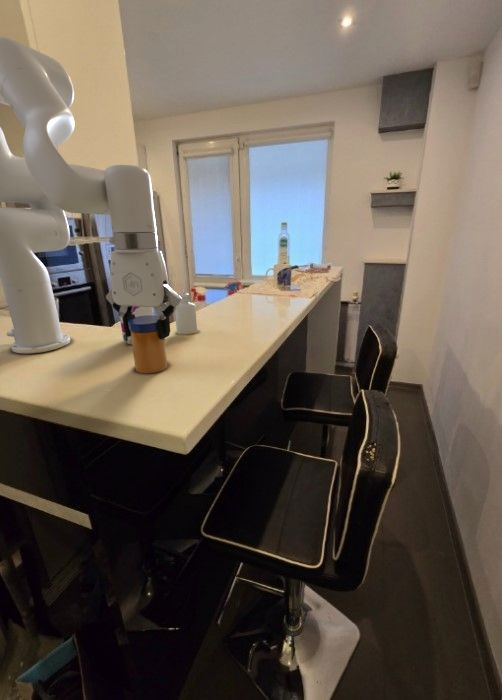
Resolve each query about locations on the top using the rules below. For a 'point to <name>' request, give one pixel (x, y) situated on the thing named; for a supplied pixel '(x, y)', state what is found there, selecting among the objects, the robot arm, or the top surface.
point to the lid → (143, 323)
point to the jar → (148, 352)
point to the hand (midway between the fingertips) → (147, 335)
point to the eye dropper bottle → (186, 316)
